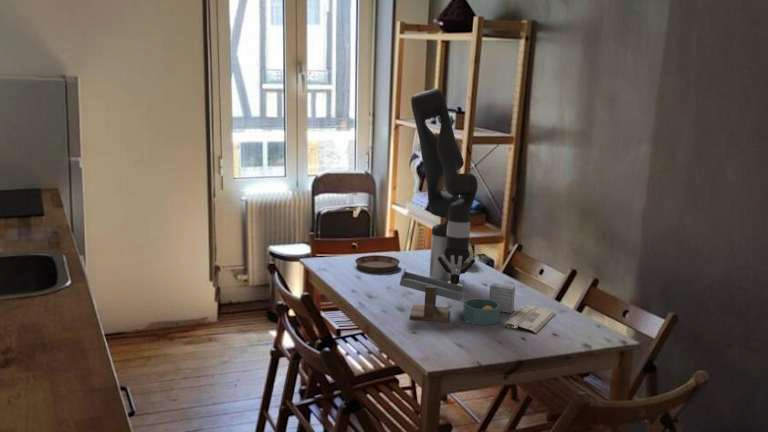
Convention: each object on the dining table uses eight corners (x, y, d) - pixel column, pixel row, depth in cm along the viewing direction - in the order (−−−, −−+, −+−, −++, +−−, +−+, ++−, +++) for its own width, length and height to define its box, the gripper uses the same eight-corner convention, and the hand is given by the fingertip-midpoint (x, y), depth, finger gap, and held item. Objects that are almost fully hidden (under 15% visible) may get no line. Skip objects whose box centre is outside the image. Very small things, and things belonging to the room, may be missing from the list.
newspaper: (519, 308, 242) (521, 301, 241) (554, 319, 236) (556, 312, 236) (496, 328, 222) (497, 320, 222) (533, 340, 217) (535, 332, 216)
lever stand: (412, 307, 236) (414, 275, 234) (448, 310, 235) (450, 278, 233) (409, 319, 225) (411, 285, 223) (447, 322, 224) (449, 288, 222)
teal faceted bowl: (478, 310, 236) (479, 296, 235) (506, 320, 227) (507, 305, 226) (455, 317, 229) (456, 302, 228) (482, 327, 220) (484, 312, 219)
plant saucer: (348, 271, 276) (348, 263, 275) (363, 260, 292) (363, 252, 292) (392, 276, 271) (392, 268, 270) (404, 265, 288) (404, 257, 287)
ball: (481, 314, 230) (491, 307, 230) (487, 322, 227) (497, 315, 227) (477, 308, 228) (487, 301, 228) (483, 316, 225) (494, 308, 225)
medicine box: (513, 310, 238) (515, 285, 236) (511, 314, 234) (513, 289, 232) (490, 306, 240) (492, 282, 239) (487, 310, 236) (489, 285, 235)
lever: (403, 276, 240) (406, 262, 239) (460, 291, 239) (464, 277, 238) (398, 290, 225) (401, 275, 224) (459, 306, 224) (463, 291, 223)
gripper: (437, 235, 229) (434, 286, 232) (478, 238, 227) (474, 289, 231) (438, 230, 236) (435, 280, 240) (478, 233, 235) (474, 283, 238)
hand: (454, 284), depth 235 cm, fingers closed
